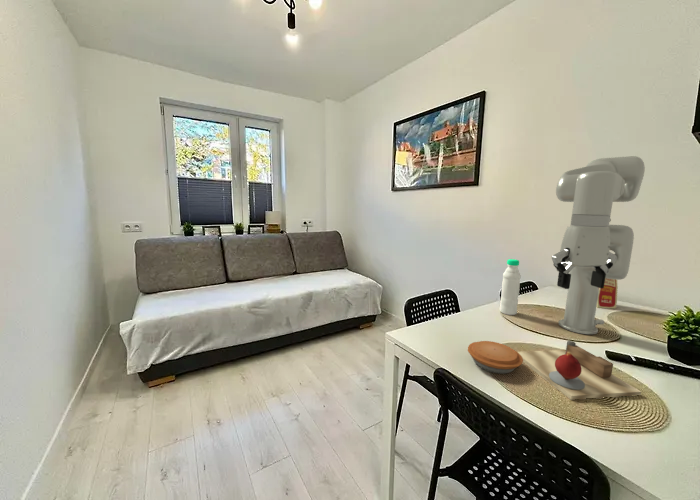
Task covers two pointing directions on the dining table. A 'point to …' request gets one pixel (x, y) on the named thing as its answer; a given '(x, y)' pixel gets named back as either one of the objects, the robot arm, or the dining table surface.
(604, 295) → the milk carton
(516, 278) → the white milk bottle
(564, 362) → the onion
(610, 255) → the robot arm
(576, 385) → the felt pad
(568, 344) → the leg
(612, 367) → the block
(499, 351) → the pie
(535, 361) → the board
